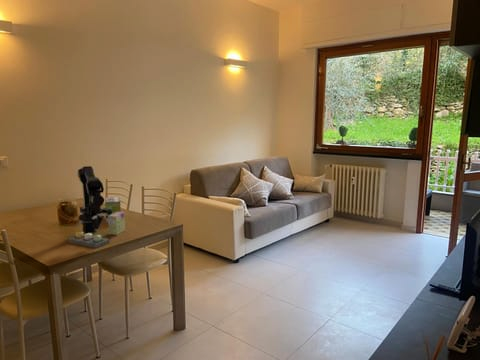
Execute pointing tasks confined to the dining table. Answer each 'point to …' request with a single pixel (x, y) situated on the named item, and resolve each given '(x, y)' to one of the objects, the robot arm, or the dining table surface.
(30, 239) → the dining table surface
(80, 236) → the mustard button
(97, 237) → the sage button
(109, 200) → the tea box
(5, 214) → the dining table surface
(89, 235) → the cream button
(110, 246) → the dining table surface
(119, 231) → the box
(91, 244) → the button panel
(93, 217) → the robot arm
